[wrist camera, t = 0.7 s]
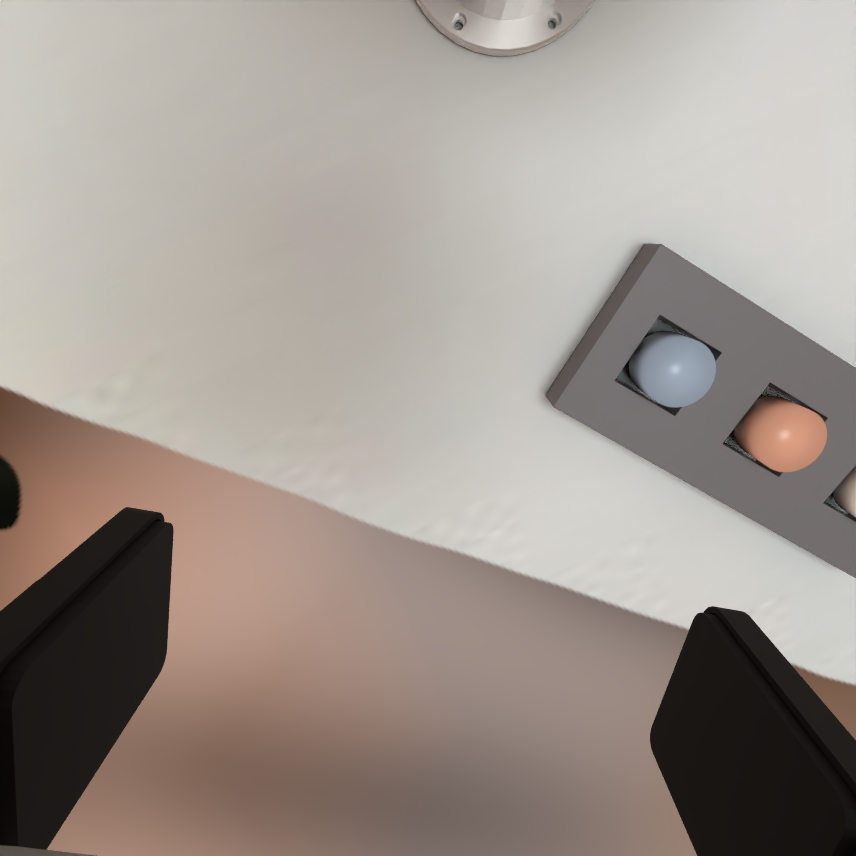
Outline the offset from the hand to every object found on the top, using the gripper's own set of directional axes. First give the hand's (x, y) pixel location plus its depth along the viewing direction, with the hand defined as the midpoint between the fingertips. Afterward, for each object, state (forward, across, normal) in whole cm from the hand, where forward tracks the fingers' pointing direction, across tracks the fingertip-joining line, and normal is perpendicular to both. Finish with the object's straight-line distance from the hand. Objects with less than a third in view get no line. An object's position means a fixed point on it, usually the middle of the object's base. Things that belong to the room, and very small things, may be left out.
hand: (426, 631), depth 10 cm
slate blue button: (+30, -15, -2) cm, 33 cm away
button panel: (+32, -24, +1) cm, 40 cm away
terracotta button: (+30, -24, +1) cm, 38 cm away
